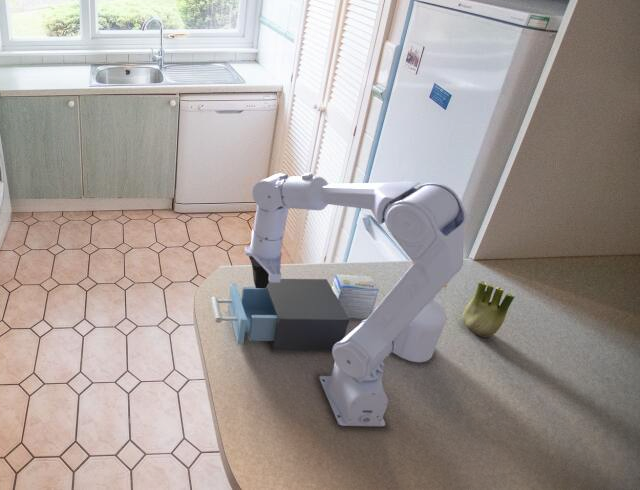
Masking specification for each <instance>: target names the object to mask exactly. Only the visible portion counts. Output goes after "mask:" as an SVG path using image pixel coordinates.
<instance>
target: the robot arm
mask: <svg viewBox="0 0 640 490" xmlns="http://www.w3.org/2000/svg"><path fill="white" fill-rule="evenodd" d="M420 184H421V182H419V181H414V180H409V181H408V180H406V181H391V182H390V181H389V182H356V183H355V182H354V183H353V182H352V183H329V182H328V181H327V180H326V179H325V178H324V177H321V176H314V174H313V173H312V172H305V173H303V174H302V175H301V176H289V174H287V173H275V174H273V175H271V176H269V177H267V178H264V179H261V180H260V181H258V182H256V183H255V184H254V185H253V188H252V198H253V200H254V203H255V204H256V209H255V216H254V222H253V228H252V229H251V234H250V238H251V240H250V245H249V246H245V247H244V253H245V255H246V256H248V258H249V261H250V264H251V268H252V277H253V284H254V287H256V288H266V287H267V285H268V283H269V282H270V283H280V281H281V279H282V272H281V268H282V267H281V266H282V265H281V264H282V248H283V242H284V235H285V231H286V225H287V218H288V213H289V209H297V210H308V211H323V210H324V209H326V208H327V206H328V205H332V206H339V207H348V208H354V209H363V210H370V211H371V212H372V214H373V217H374V218H375V220H376V222H377V223H378V224H379V225H383V224H385V226H386V229H387V231H388V232H389V233H390V236H392V237H393V238H394V240H395V241H396V242H397V244H398V245H399V247H400V248H401V249H402V251H403V252H404V253H405V254H406V255H407V257H409V259H410V260H411V262H412V263H413V265H412V264H411V265H410V267H409V268H408V269H407V270H406V271H405V273H404V274H403V275H402V276H401V278H400V279H399V280H398V281H397V283H395V285H394V286H393V287H392V288H391V290H389V292H388V293H387V294H386V296H385V297H384V298H383V299H382V300H381V302H380V303H379V304H378V305H377V307H376V308H374V309H373V312H372V314H371V315H370V316H369V317H368V318H367V319H362V320H361V321H360V323H358V325H357V326H356V327H355V328H353V329H352V330H351V331H350V332H349V333H348V334H346V335H345V337H344V338H343V339H342V340H341V341H340V342H337V343H336V344H335V345H334V346H333V348H332V351H331V354H332V358H333V360H334V363H333V368H332V371H331V375H320V376H319V378H318V379H319V382H320V385H321V386H322V388H323V391H324V393H325V396H326V398H327V401H328V403H329V405H330V407H331V410H332V412H333V415H334V418H335V420H336V422H337V425H339V426H340V427H385V426H386V421H385V420H384V415H385V412H386V410H387V408H388V404H389V400H388V396H387V394H386V391H385V389H384V386H383V372H384V359H386V358H387V357H388V356H389V355H390V354H393V351H394V349H395V341H396V338H397V337H398V336H399V334H400V333H401V332H402V331H403V329H404V328H405V327H406V326H407V325H408V324H409V323H410V322H411V321H412V320H413V319H414V318H415V317H416V316H417V315H418V314H419V313H420V312H421V311H422V309H423V308H424V307H425V306H426V305H427V304H428V303H429V302H430V301H431V300H432V299H433V298H434V297H435V298H436V296H438V294H439V293H440V292H441V291H442V290H443V288H445V287H444V286H445V285H446V284H447V285H448V284H449V282H450V281H451V280H452V279H453V278H454V277H455V276H456V275H457V274H458V273H459V272H460V271H461V269H462V268H463V265H464V239H465V238H464V235H465V234H464V233H465V231H464V230H465V227H466V222H467V219H468V213H467V211H466V209H465V207H464V205H463V203H462V200H461V199H460V197H459V195H458V194H457V193H456V192H455V191H454V190H453V189H452V188H451V187H449V186H447V185H445V184H442V183H439V182H427V183H423V184H422V185H420ZM418 185H420V186H418ZM417 186H418V187H417ZM416 187H417V188H416ZM435 298H434V299H435Z"/></svg>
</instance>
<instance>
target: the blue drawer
mask: <svg viewBox="0 0 640 490" xmlns="http://www.w3.org/2000/svg"><path fill="white" fill-rule="evenodd" d="M228 295H229V297H228V298H218V297H216V296H212V297H211V298H210V302H211V306H212V312H213V316H214V321H215V323H218V324H220V323H222V322H231V324H232V328H233V332H234V336H235V340H236V343H237V345H244V342H245V335H246V334H247V338H248V341H249V342H271V341H274V338H275V332H276V327H277V322H278V317H277V315H276V312H275V309H274V307H273V304H272V302H271V299H270V296H269V294H268V291H267V288H256V287H255V286H252V285H251V286H247V285H246V286H245V285H243V286H242V291H241V294H240V291H239V288H238V284H237V283H236V282H235V283H234V282H231V283H230V288H229V294H228ZM220 304H227V308H228V312H229V316H222V313H221V308H220Z"/></svg>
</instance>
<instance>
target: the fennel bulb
mask: <svg viewBox="0 0 640 490" xmlns="http://www.w3.org/2000/svg"><path fill="white" fill-rule="evenodd" d="M493 291H494V293H493ZM504 291H505V289H503V287H499V286H497V287H496V288H495V286H494V285H493V284H488V283H487V282H485V281H482V280H480V281H478V283H477V288H476V290H475V293H474V296H473V297H472V299H471V300H470V301H469V303H467V305H466V307H465V308H464V311H463V313H462V317H461V320H462V322H463V324H464V326H465V327H466V329H468V330H469V332H471V333H473V334H475V335H477V336H479V337H482V338H483V337H484V338H487V337H489V338H490V337H491V336H493V335H495V334H496V333H497V332H498V331H499V330H500V329H501V327H502V325H503V323H504V322H505V319H506V315H507V314H508V310H509V309H510V306H511V304H512V302H513V301H514V299H515V297H516V296H515V295H514V294H513V293H510V292H507V293H506V294H505V296H504V298H503V299H502V297H503V294H504ZM501 300H502V301H501Z"/></svg>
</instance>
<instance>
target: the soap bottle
mask: <svg viewBox="0 0 640 490" xmlns="http://www.w3.org/2000/svg"><path fill="white" fill-rule="evenodd" d="M412 265H413V262H412V263H411V266H412ZM447 286H448V283H447V284H446V285H445V286H444V287H443V288H446V287H447ZM435 298H436V296H435V297H434V298H433V299H432V300H431V301H430V302H429V303H428V304H427V305H426V306H425V307H424V308H423V309H422V311H421V312H420V313H419V314H418V315H417V316H416V317H415V318H414V319H413V320H412V321H411V322H410V323H409V324H408V325H407V326H406V327H405V328H404V329H403V331H402V332H401V333H400V334H399V336H398V337H397V338H396V341H395V349H394V351H393V352H392V354H394V355H396V356H397V357H399V358H400V359H404V360H406V361H409V362H413V363H424V362H425V363H426V362H427V361H429V360H430V359H432V357H433V355H434V353H435V350H436V347H437V344H438V342H439V339H440V337H441V335H442V332H443V330H444V327H445V325H446V322H447V319H448V318H447V314H446V311H445V308H444V307H443V305H442V304H441V303H440V302H439V301H438V300H437V299H435Z"/></svg>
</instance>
